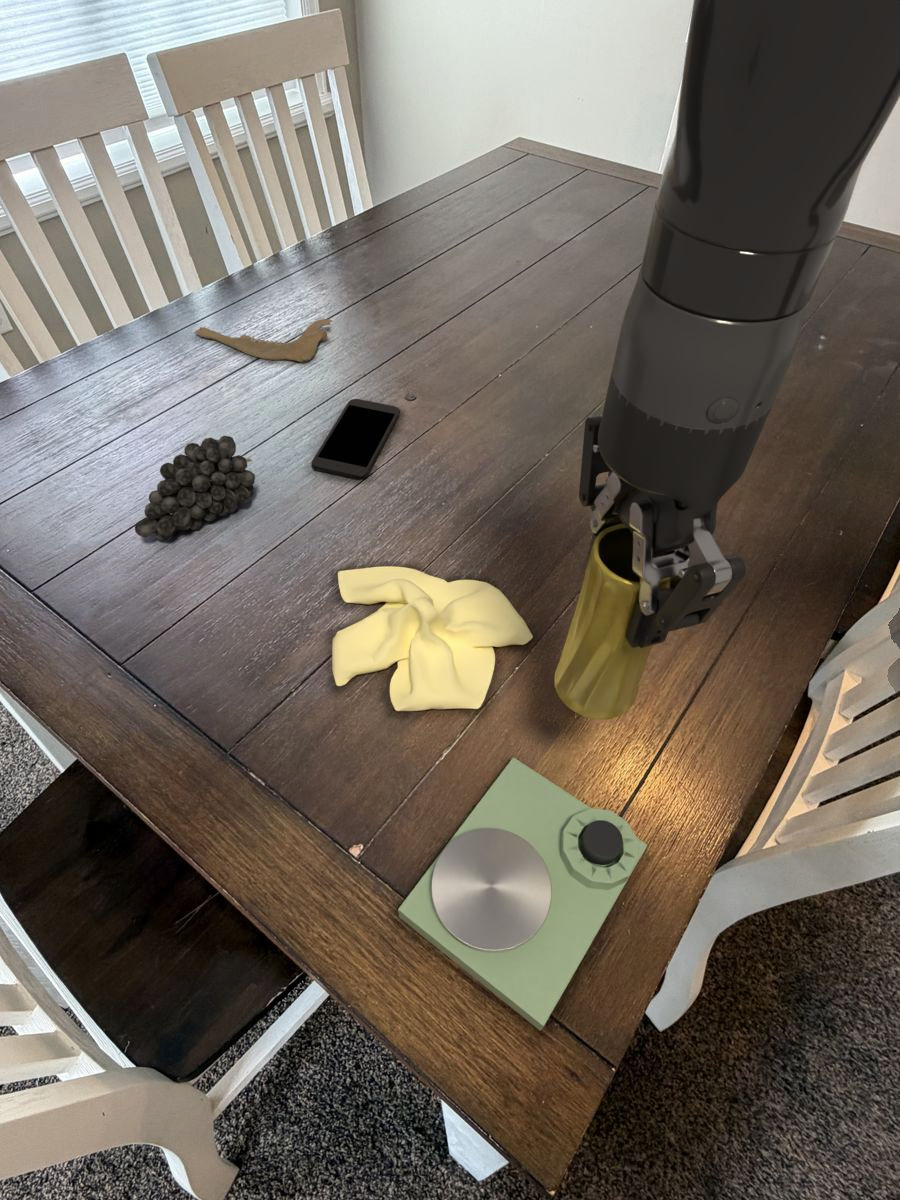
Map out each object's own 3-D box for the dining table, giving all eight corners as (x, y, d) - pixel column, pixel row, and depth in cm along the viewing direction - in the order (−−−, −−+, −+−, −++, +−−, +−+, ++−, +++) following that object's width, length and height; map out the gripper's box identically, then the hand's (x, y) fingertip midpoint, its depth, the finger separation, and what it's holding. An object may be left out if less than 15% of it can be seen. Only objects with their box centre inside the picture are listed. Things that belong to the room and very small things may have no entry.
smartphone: (403, 411, 98) (402, 405, 98) (365, 481, 89) (365, 476, 88) (351, 401, 99) (350, 396, 99) (308, 470, 90) (308, 465, 89)
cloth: (549, 607, 77) (557, 568, 72) (476, 748, 66) (479, 713, 61) (366, 538, 83) (362, 498, 78) (271, 657, 72) (260, 619, 67)
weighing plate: (476, 809, 59) (476, 805, 58) (573, 876, 56) (574, 873, 55) (406, 901, 54) (406, 898, 54) (507, 981, 51) (508, 979, 50)
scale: (511, 766, 65) (515, 747, 62) (642, 853, 60) (652, 836, 58) (398, 916, 57) (396, 902, 54) (540, 1031, 52) (546, 1021, 49)
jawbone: (333, 366, 106) (331, 354, 104) (189, 373, 104) (185, 360, 103) (333, 328, 111) (331, 316, 109) (196, 334, 109) (192, 322, 108)
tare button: (592, 820, 59) (596, 812, 58) (625, 842, 58) (629, 834, 57) (573, 850, 57) (576, 842, 56) (607, 873, 56) (611, 865, 55)
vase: (556, 646, 56) (587, 511, 45) (636, 658, 56) (687, 523, 45) (551, 714, 52) (583, 584, 42) (637, 727, 52) (692, 598, 41)
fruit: (127, 498, 73) (248, 429, 80) (95, 482, 78) (211, 418, 85) (167, 567, 78) (277, 496, 85) (134, 547, 84) (241, 482, 91)
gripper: (860, 455, 30) (731, 680, 43) (688, 290, 39) (623, 519, 52) (702, 488, 29) (617, 712, 42) (559, 309, 38) (526, 540, 51)
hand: (621, 604), depth 47 cm, fingers closed on vase, 5 cm apart
